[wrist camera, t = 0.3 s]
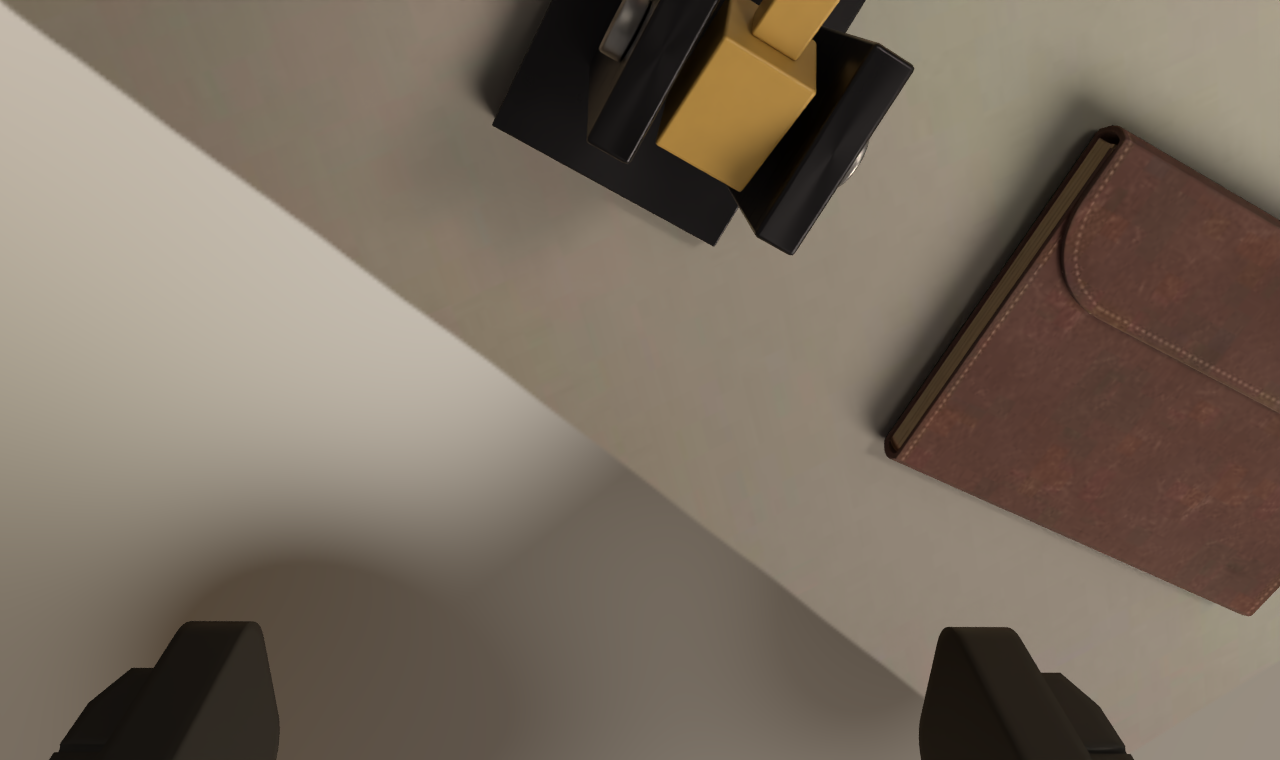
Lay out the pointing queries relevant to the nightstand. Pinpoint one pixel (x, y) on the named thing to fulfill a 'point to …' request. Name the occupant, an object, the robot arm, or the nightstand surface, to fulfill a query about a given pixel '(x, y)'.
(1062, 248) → the notebook
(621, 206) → the nightstand surface
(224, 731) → the robot arm
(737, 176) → the lever
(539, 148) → the lever stand
